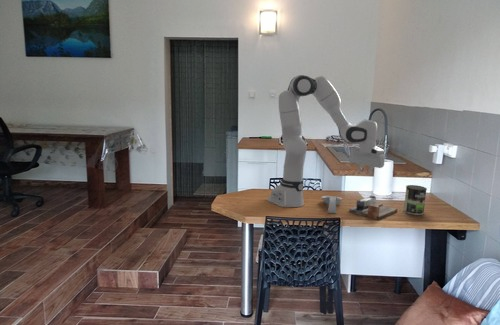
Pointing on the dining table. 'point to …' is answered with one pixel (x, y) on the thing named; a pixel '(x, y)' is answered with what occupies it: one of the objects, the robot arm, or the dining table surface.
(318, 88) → the robot arm
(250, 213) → the dining table surface
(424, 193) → the coffee can
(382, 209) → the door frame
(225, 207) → the dining table surface
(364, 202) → the latch bar
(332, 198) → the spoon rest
